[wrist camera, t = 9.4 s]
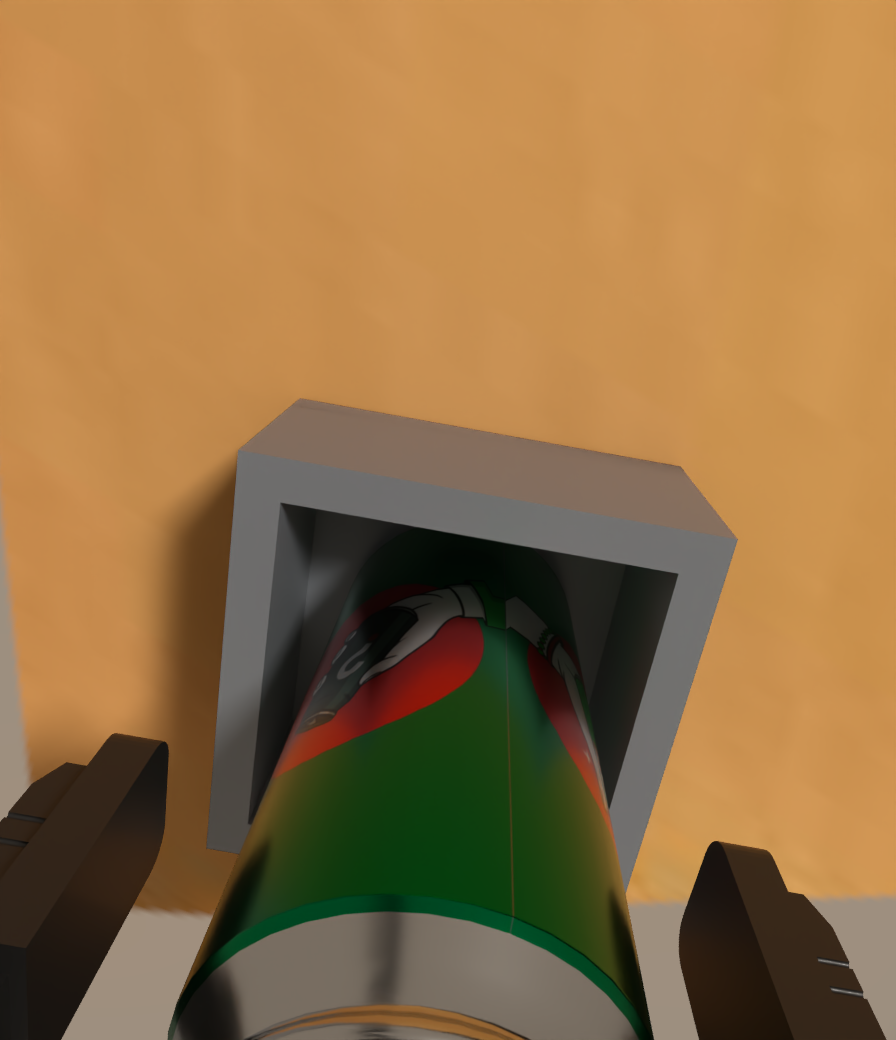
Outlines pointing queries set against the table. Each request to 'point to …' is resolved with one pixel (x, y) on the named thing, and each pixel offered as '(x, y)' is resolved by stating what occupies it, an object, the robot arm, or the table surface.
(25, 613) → the table surface
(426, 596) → the soda can
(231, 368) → the table surface
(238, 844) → the grey hollow square box
